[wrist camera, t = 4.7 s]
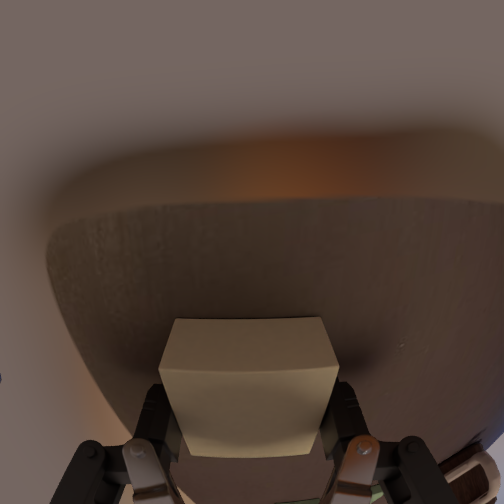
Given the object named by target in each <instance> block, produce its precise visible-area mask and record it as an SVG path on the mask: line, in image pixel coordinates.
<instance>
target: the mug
mask: <svg viewBox="0 0 504 504" xmlns="http://www.w3.org/2000/svg"><path fill="white" fill-rule="evenodd" d="M439 468H440V470H441V471H442V473H443V475H444V477H445V478H446V480H447V482H448V484H449V486H450V487H451V489H452V491H453V493H454V495H455V496H456V498H457V500H458V502H459V504H495V502H496V500H497V498H496V495H497V493H498V491H499V488H500V473H499V470H498V468H497V465H496V463H495V461H494V460H493V458H492V457H491V456H490V455H489V454H488V453H487V452H486V451H484V449H483V446H482V444H474V445H471V446H469V447H468V448H466V449H464V450H462V451H461V452H459V453H458V454H456V455H454V456H453V457H451V458H449V459H448V460H446V461H445V462H443V463H442V464H440V465H439Z"/></svg>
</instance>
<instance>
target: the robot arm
mask: <svg viewBox="0 0 504 504" xmlns="http://www.w3.org/2000/svg"><path fill="white" fill-rule="evenodd" d="M356 398H357V397H356V395H355V392H354V389H353V388H352V387H351V386H350V385H349V384H348V383H347V382H339V380H338V377H336V380H335V383H334V386H333V390H332V393H331V396H330V399H329V402H328V405H327V408H326V411H325V413H324V416H323V419H322V422H321V425H320V427H319V429H320V433H321V438H322V442H323V447H324V452H325V456H326V460H332V459H333V460H334V465H335V466H334V468H333V470H332V473H331V476H330V478H329V481H328V483H327V486H326V488H325V491H324V493H323V495H322V498H321V500H320V502H319V503H318V504H370V502H371V498H372V490H371V484H372V480H378V482H379V485H380V487H381V489H382V491H383V493H384V496H385V498H386V500H387V502H388V504H459V502H458V500H457V498H456V496H455V495H454V493H453V491H452V489H451V487H450V486H449V484H448V482H447V480H446V478H445V477H444V475H443V473H442V471H441V470H440V468H439V466H438V464H437V463H436V461H435V459H434V458H433V456H432V454H431V453H430V451H429V449H428V448H427V446H426V444H425V443H424V441H423V440H422V439H421V438H419V437H417V436H408V437H405V438H403V439H402V440H401V441H400V442H383V441H379V440H377V439H376V438H375V437H373V436H371V434H370V433H369V431H368V428H367V425H366V422H365V420H364V417H363V414H362V411H361V408H360V407H359V403H358V400H357V399H356ZM181 438H182V432H181V430H180V428H179V425H178V423H177V420H176V418H175V415H174V412H173V410H172V407H171V405H170V402H169V399H168V396H167V393H166V391H165V388H164V385H163V382H162V384H154V385H153V386H152V387H151V388H150V389H149V390H148V392H147V395H146V398H145V402H144V404H143V409H142V411H141V414H140V417H139V421H138V424H137V427H136V431H135V434H134V436H133V438H132V439H131V440H129V441H127V442H126V443H125V444H124V445H119V446H102V445H101V444H100V443H99V442H97V441H94V440H87V441H84V442H82V443H81V444H80V445H79V447H78V448H77V450H76V452H75V454H74V456H73V458H72V460H71V462H70V463H69V465H68V467H67V469H66V471H65V473H64V475H63V477H62V479H61V481H60V483H59V485H58V487H57V489H56V491H55V493H54V495H53V498H52V500H51V502H50V504H119V501H120V499H121V496H122V494H123V491H124V488H125V486H126V484H132V487H133V490H134V494H133V502H134V504H185V503H184V501H183V499H182V497H181V495H180V493H179V491H178V489H177V486H176V484H175V482H174V480H173V477H172V475H171V473H170V470H169V469H170V463H171V462H177V463H178V457H179V450H180V444H181Z"/></svg>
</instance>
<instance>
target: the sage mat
mask: <svg viewBox="0 0 504 504" xmlns="http://www.w3.org/2000/svg"><path fill="white" fill-rule="evenodd" d="M371 490H372V498H371V502H370V504H371V503H372V502H374V501H375V500H377V499H378V498H379V497H381V496H382V495H384V493H383V491H382V489H381V487H380V485H375V486H372V487H371ZM319 502H320V499H319V498H318V499H312V500H305V501H297V502H287V503H275V504H318V503H319Z"/></svg>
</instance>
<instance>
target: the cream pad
mask: <svg viewBox="0 0 504 504" xmlns="http://www.w3.org/2000/svg"><path fill="white" fill-rule="evenodd" d="M158 370H159V373H160V376H161V379H162V382H163V385H164V388H165V391H166V393H167V396H168V399H169V402H170V405H171V407H172V410H173V412H174V415H175V418H176V420H177V423H178V425H179V428H180V430H181V432H182V435H183V437H184V439H185V442H186V444H187V446H188V449H189V451H190V453H191V455H194V456H207V457H229V458H255V457H278V456H291V455H301V454H308V453H310V450H311V448H312V445H313V443H314V440H315V438H316V435H317V433H318V430H319V427H320V425H321V422H322V419H323V416H324V413H325V411H326V408H327V405H328V402H329V399H330V396H331V393H332V390H333V386H334V383H335V380H336V377H337V373H338V370H339V364H338V361H337V358H336V356H335V353H334V351H333V348H332V345H331V343H330V340H329V337H328V335H327V332H326V330H325V327H324V325H323V322H322V320H321V317H304V318H280V319H181V318H177V319H175V321H174V324H173V327H172V330H171V333H170V336H169V338H168V341H167V344H166V347H165V350H164V353H163V356H162V359H161V362H160V365H159V368H158Z"/></svg>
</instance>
